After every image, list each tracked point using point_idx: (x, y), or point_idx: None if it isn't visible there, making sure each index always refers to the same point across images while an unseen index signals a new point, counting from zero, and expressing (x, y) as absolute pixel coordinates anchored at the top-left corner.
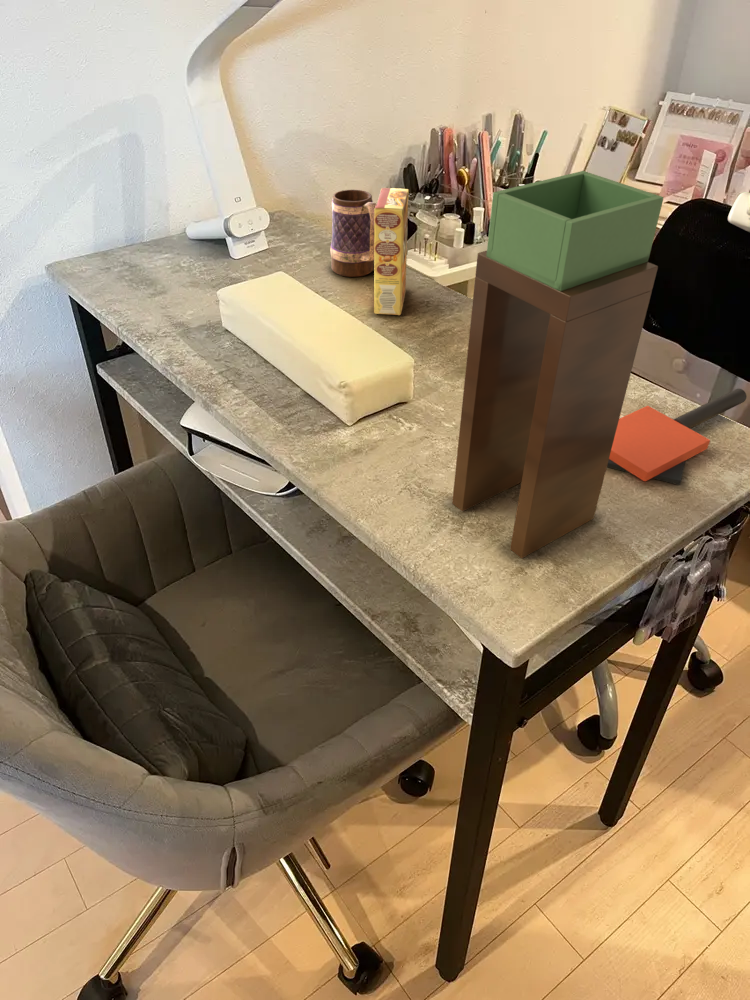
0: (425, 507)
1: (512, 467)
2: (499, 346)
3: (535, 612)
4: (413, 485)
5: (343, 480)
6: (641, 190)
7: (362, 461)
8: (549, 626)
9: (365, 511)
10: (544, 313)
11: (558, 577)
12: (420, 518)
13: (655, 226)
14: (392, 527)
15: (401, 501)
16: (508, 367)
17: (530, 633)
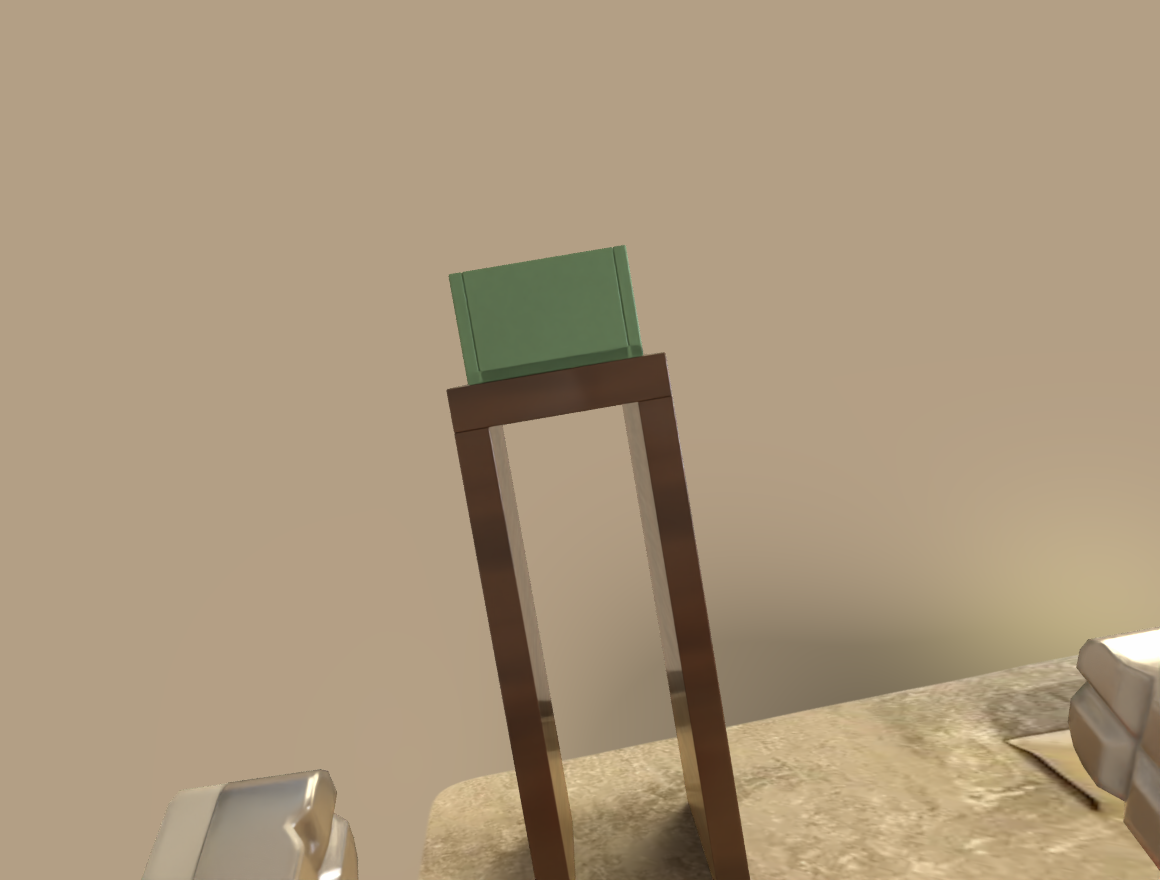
0: None
1: (698, 809)
2: (642, 510)
3: (458, 812)
4: (786, 773)
5: (838, 722)
6: (492, 267)
7: (881, 740)
8: (429, 816)
9: (753, 731)
10: (648, 494)
11: (481, 848)
12: None
13: (457, 323)
14: None
15: (754, 758)
16: (653, 562)
17: (439, 801)
